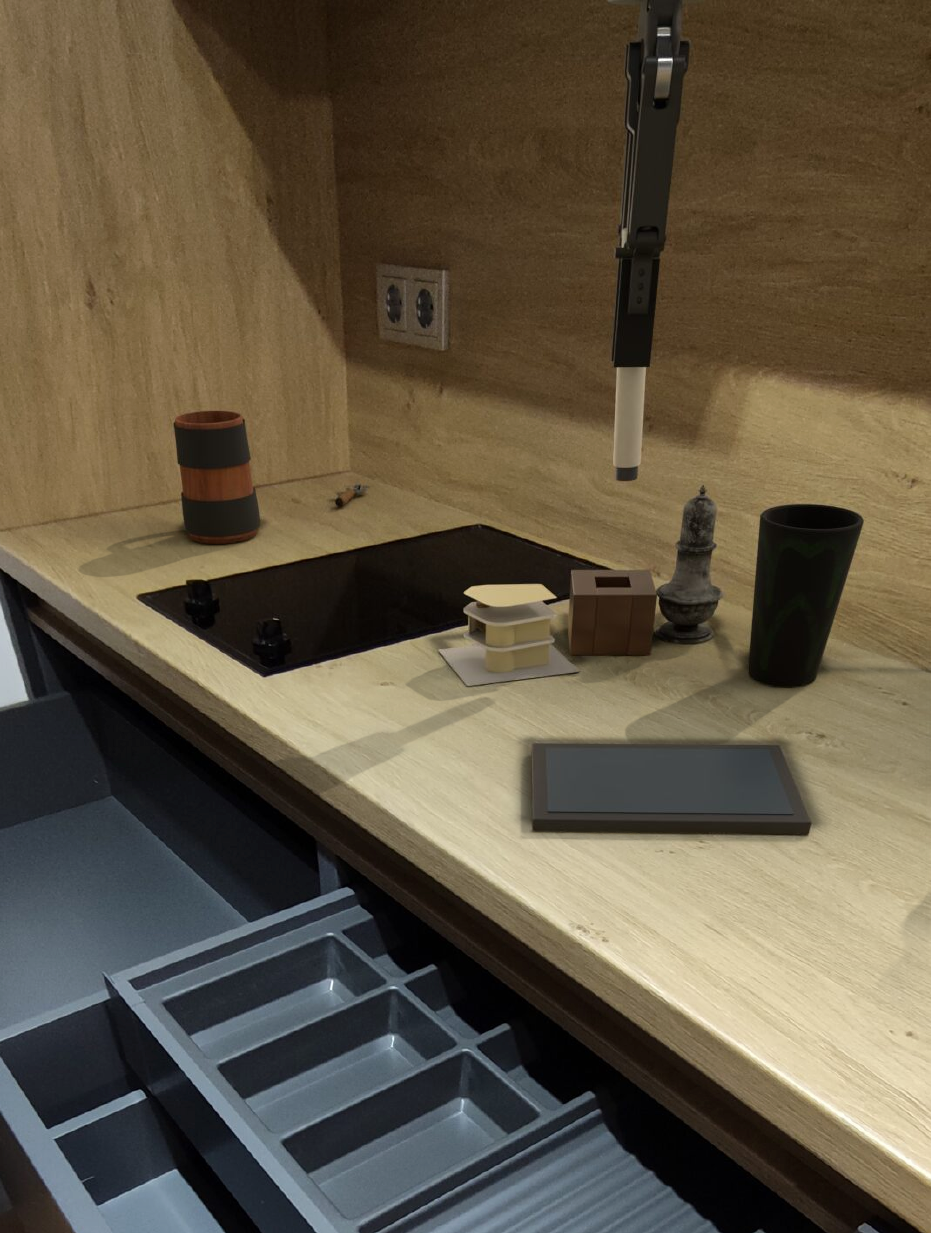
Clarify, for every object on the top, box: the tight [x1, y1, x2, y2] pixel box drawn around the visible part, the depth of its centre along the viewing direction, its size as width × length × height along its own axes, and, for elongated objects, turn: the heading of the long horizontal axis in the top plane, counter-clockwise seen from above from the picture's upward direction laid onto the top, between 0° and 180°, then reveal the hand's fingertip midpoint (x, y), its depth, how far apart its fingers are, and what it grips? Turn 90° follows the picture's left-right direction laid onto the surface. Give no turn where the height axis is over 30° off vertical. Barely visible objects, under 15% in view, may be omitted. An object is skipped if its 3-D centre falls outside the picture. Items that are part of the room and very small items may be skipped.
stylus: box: [612, 228, 647, 482], centre depth 85 cm, size 2×2×16 cm
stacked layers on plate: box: [437, 583, 580, 687], centre depth 94 cm, size 10×9×6 cm
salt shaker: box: [654, 484, 724, 645], centre depth 96 cm, size 6×6×12 cm
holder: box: [567, 569, 658, 656], centre depth 98 cm, size 7×7×5 cm
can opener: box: [334, 482, 368, 508], centre depth 138 cm, size 9×2×1 cm, turn 160°
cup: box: [747, 503, 865, 688], centre depth 89 cm, size 8×8×12 cm
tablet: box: [530, 742, 812, 835], centre depth 77 cm, size 18×12×1 cm, turn 86°
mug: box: [172, 410, 261, 545], centre depth 125 cm, size 9×12×12 cm
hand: (630, 362), depth 85 cm, fingers closed on stylus, 2 cm apart
